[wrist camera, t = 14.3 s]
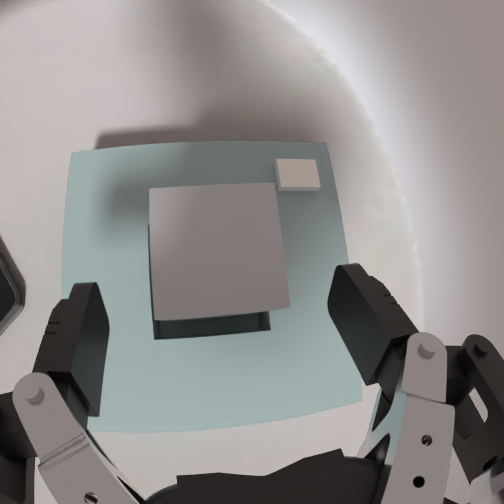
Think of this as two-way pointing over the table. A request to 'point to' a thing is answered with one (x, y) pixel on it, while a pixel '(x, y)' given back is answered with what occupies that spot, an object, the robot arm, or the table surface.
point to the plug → (216, 251)
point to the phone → (9, 295)
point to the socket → (219, 328)
